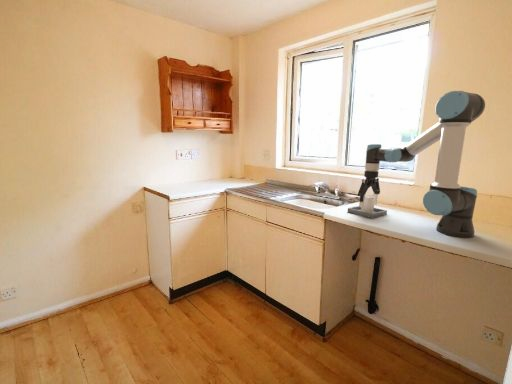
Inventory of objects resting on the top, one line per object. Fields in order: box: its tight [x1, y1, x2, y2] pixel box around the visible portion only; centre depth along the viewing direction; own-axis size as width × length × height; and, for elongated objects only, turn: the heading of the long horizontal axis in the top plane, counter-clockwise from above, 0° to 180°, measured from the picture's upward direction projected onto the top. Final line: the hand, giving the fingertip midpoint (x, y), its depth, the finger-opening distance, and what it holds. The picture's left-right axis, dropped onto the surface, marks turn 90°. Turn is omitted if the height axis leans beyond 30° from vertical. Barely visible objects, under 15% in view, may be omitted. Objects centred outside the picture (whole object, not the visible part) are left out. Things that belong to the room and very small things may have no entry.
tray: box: [347, 205, 388, 219], centre depth 167 cm, size 16×16×2 cm
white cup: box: [361, 194, 376, 214], centre depth 166 cm, size 8×8×10 cm
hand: (367, 205), depth 166 cm, fingers open, 13 cm apart
